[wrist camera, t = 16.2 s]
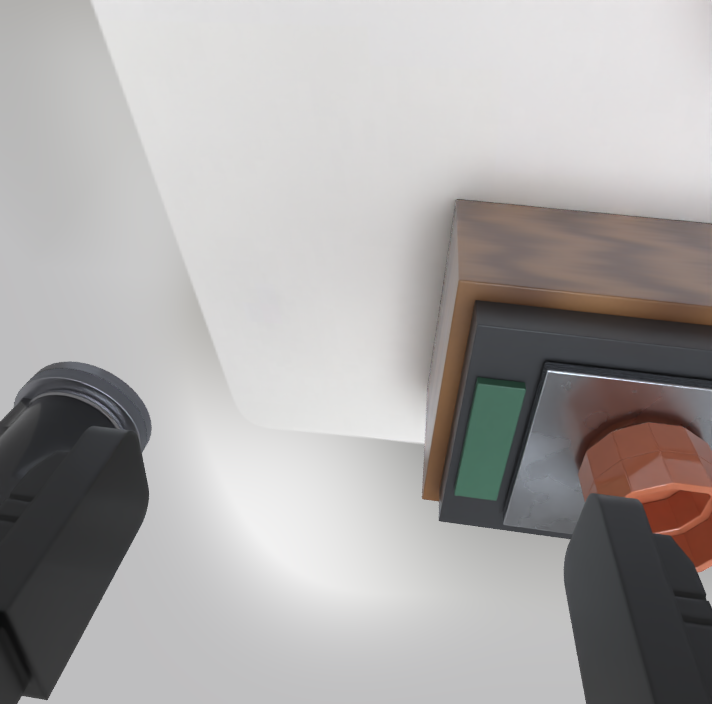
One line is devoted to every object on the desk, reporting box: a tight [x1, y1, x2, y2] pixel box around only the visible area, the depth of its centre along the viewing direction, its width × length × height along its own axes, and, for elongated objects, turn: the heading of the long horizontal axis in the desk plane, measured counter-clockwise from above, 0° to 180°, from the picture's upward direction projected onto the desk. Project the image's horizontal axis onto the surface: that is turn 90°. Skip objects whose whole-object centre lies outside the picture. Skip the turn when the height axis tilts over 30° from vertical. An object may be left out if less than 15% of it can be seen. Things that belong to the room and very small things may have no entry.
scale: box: [439, 300, 712, 539], centre depth 33 cm, size 16×14×3 cm
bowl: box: [578, 422, 712, 573], centre depth 29 cm, size 6×6×4 cm
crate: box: [422, 199, 712, 501], centre depth 39 cm, size 18×16×12 cm
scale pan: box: [502, 362, 712, 534], centre depth 31 cm, size 12×11×1 cm
